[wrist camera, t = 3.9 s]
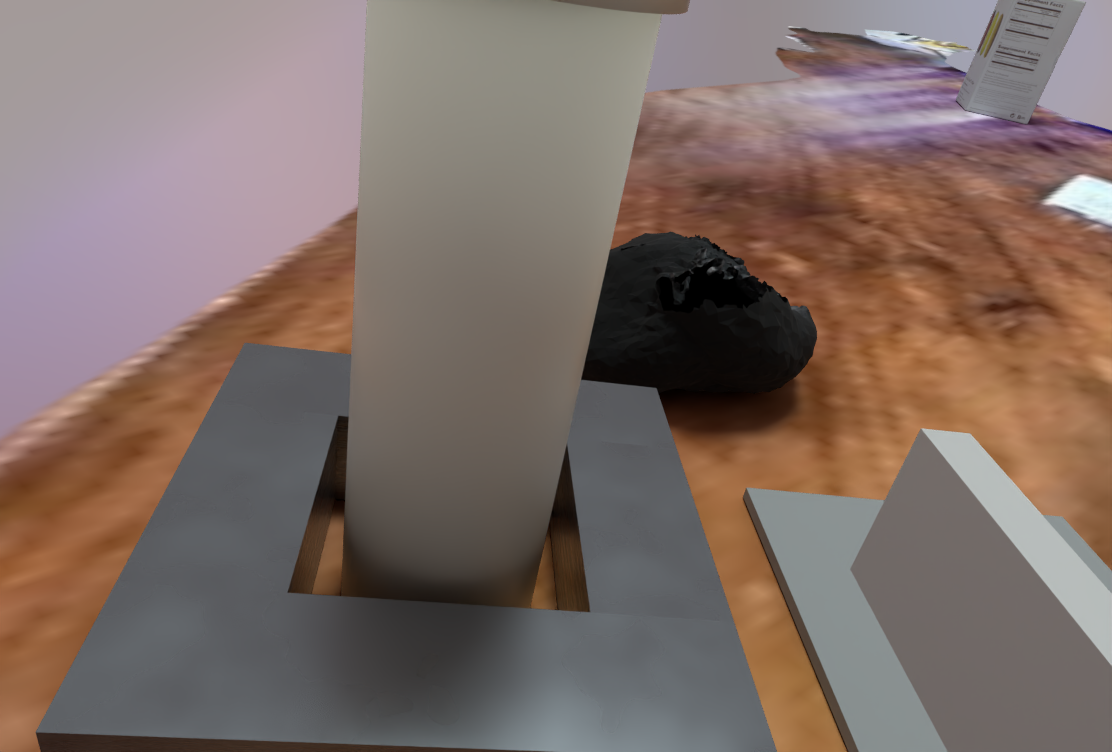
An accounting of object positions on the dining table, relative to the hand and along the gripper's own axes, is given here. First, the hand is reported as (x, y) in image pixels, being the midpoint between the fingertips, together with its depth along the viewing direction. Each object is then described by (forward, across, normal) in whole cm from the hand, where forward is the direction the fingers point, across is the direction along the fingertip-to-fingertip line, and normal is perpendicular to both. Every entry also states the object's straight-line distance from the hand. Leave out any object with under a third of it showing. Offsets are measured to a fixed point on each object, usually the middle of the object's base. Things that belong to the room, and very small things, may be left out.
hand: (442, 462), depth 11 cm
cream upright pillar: (+7, 0, -9) cm, 11 cm away
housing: (+7, 0, -9) cm, 11 cm away
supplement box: (+109, +79, -10) cm, 135 cm away
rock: (+20, +9, -10) cm, 25 cm away
